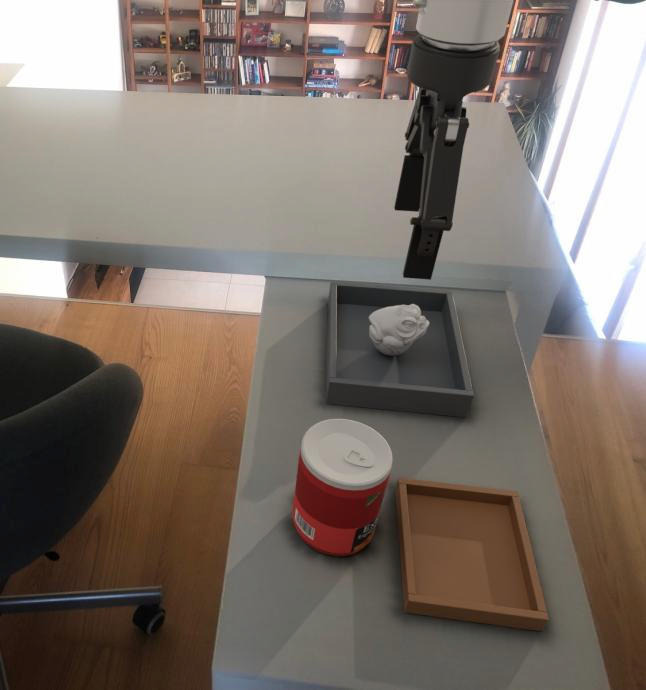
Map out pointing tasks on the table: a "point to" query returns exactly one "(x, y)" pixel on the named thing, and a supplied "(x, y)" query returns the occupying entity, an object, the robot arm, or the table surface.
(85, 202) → the table surface
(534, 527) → the table surface
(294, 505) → the canned food
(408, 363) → the tub
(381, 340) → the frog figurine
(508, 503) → the tray
